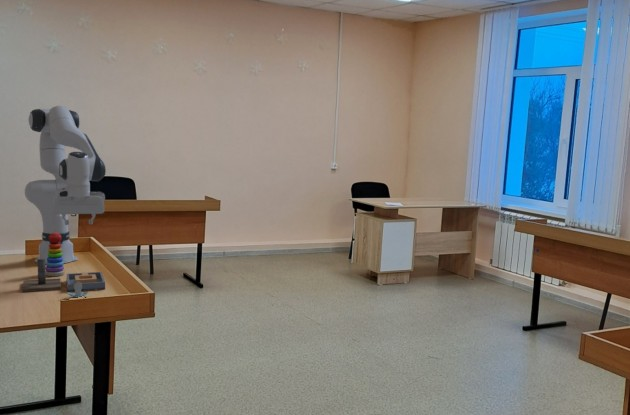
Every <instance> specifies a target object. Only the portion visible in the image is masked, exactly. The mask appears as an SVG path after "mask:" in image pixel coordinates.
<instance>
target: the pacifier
mask: <svg viewBox="0 0 630 415" xmlns="http://www.w3.org/2000/svg"><path fill="white" fill-rule="evenodd" d="M74 289H75V291H74V292H68V291H67V294H68V296H70V297H69V298H78V297H82V296H86V295H87V294H89V291H81V289H82V284H81V283H80V282H76V283H75V284H74Z"/></svg>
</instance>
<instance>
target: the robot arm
mask: <svg viewBox="0 0 630 415" xmlns="http://www.w3.org/2000/svg"><path fill="white" fill-rule="evenodd" d="M80 122H81V121H80V117H79V114H78V112H77V111H74V110H72V109H71V110H70V109H68V108H67V107H65V106H63V105H56V106H52V107H51V108H50V109H49V108H46V109H45V108H44V109H43V108H42V109H41V108H36V109H32V110H31V111H30V113H29V115H28V125H29V126H30V129H31V130H32V131H33V132H37V133H40V136H39V164H40V167H41V169H42V170H43V171H45V172H46V173H48V174H51V175H52V176H53V177H54V178H55V179H38V180H32V181H29V182H27V184H26V186H25V188H24V195H25V198H26V200H27V201H28V202H30V203H31V204H33V205H34V206H35V207H36V208H37V209H38V211H39V213H40V215H41V218H42V220H41V221H42V232H41V233H42V234H41V238H42V241H41V242H40V243H39V245H38V256H37V257H36V258H35V259H34V263H38V259H45V265H46V263H47V262H48V261H47V258H48V253H49V252H48V249H49V244H50V243H51V242H50V241H49V236H50V234H51V233H54V232H57V233H59V234H60V235H61V241H60V242H59V243H60V244H61V247H60V248H61V249H62V251H61V253H62V258H63V260H62V261H63V263H64V264H66V263H71V262H75V261H76V262H77V261H78V260H79V259H78V257H77V256H75V255H74V243H73V242H72V241H71V240H70V237H71V234H70V231H69V222H70V221H69V216H68V215H90V214H91V216H92V217H91V218H90V219H88V224H89V225H93V224H94V220H95V218H96V215H99V214H102V215H103V214H104V213H105V204H104V202H105V201H106V195H105V193H104V192H102V191H91V182H100V181H101V180H102V179H103V178H104V177H105V176H106V174H107V173H106V170H107V169H106V165H105V162H104V161H103V160H102V158H101V157H100V156H99V154H98V152H97V150H96V149H95V147H94V145H93V143H92V142H91V140H90V138H89V136H88V135H87V134H86V133H85V132H82V131H81V130H80V129H79V128H80V125H81V123H80ZM65 147H68V148H69V147H70V148H74V149H77V150H78V151H71V152H69V153H68V155H67V157H66V149H65ZM90 181H91V182H90Z"/></svg>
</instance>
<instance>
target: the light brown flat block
mask: <svg viewBox="0 0 630 415" xmlns="http://www.w3.org/2000/svg"><path fill="white" fill-rule="evenodd" d="M81 273H82V275H75V283H76V282H80V283H92V282H97V278H96V275H95V274H91V275H88V273H89V272H87V271H85V272H81Z"/></svg>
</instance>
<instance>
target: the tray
mask: <svg viewBox="0 0 630 415" xmlns="http://www.w3.org/2000/svg"><path fill="white" fill-rule="evenodd" d="M82 273H83V272H79V273H78V272H76V273H75V272H74V273H66V286H67V293H68V292H70V293H75V289H74V284H75V275H82ZM91 274H95V275H96V278H97V282H92V283H81V284H82V289H81V292H85V291H84V290H89V291H96V290H95V289H98V290H97V291H101V290H106V281H105V278H104V275H103V272H102V271H93V272H91V271H90V272H88V275H91Z"/></svg>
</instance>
